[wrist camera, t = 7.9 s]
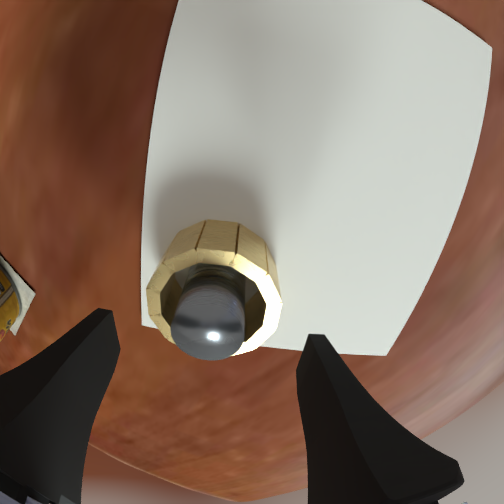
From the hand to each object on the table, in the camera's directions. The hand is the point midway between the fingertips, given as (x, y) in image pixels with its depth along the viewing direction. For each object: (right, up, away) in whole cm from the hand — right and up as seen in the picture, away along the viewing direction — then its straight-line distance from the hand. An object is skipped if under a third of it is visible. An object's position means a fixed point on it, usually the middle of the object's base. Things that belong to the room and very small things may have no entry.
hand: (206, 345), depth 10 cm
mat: (+5, +7, +3) cm, 9 cm away
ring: (0, +2, +4) cm, 5 cm away
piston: (0, +2, +5) cm, 6 cm away
